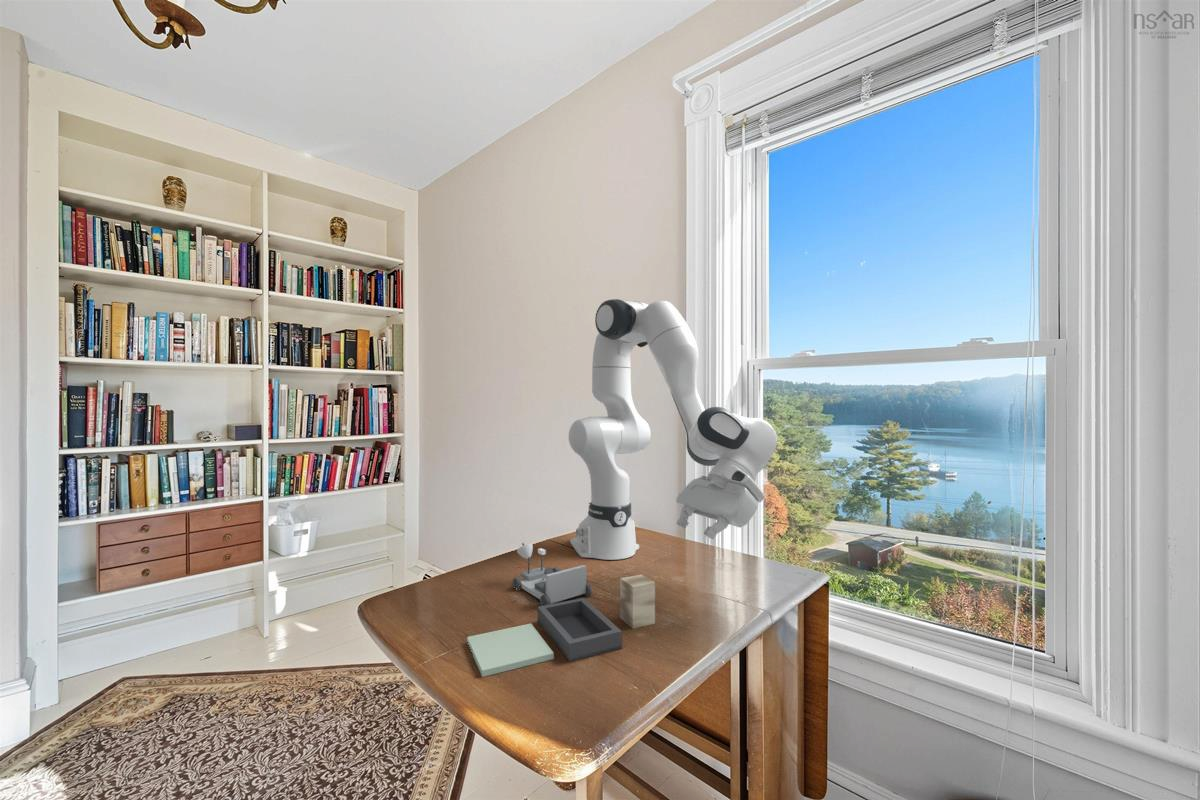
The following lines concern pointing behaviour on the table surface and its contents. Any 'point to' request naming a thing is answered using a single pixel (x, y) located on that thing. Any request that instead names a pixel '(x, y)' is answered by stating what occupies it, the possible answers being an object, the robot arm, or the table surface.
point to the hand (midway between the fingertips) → (693, 531)
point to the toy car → (551, 580)
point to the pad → (508, 649)
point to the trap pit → (579, 629)
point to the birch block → (637, 601)
